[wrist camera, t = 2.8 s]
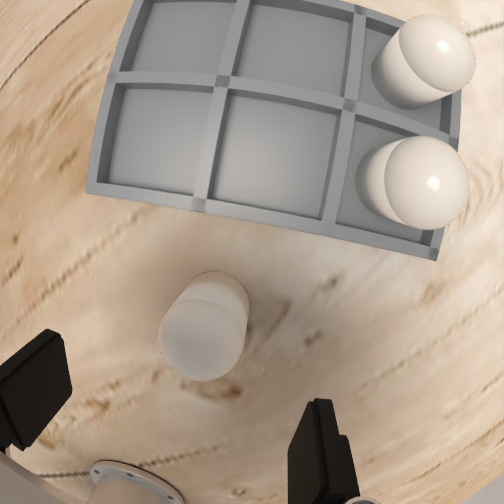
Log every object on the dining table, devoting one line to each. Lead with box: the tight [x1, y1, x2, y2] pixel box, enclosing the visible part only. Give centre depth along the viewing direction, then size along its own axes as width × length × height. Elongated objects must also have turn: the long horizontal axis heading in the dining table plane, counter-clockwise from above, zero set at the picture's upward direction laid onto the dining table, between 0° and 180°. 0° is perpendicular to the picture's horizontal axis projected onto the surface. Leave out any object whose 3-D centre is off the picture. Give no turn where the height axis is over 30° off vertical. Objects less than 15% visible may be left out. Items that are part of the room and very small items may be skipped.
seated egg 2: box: [355, 136, 469, 230], centre depth 14 cm, size 5×5×7 cm
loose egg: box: [158, 271, 250, 381], centre depth 17 cm, size 5×5×7 cm
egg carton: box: [85, 0, 461, 261], centre depth 16 cm, size 16×23×2 cm
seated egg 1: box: [371, 15, 476, 110], centre depth 12 cm, size 5×5×7 cm
